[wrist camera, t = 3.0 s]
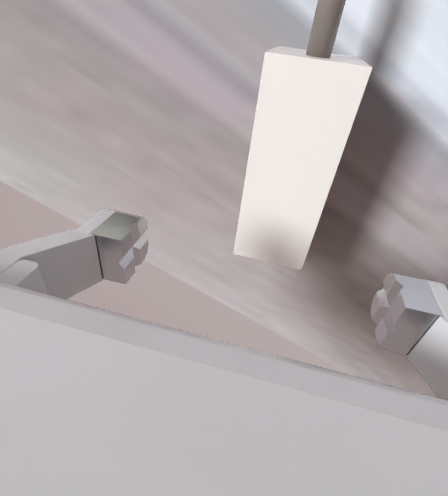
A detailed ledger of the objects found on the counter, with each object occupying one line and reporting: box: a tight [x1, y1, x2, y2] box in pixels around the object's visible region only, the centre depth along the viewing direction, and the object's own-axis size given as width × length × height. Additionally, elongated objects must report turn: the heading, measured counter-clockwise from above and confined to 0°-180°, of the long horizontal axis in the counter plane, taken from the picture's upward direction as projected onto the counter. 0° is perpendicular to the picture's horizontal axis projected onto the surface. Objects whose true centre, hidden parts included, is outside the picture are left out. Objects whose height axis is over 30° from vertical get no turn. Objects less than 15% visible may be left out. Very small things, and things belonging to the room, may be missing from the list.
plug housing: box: [233, 0, 373, 270], centre depth 15 cm, size 4×14×5 cm, turn 174°
